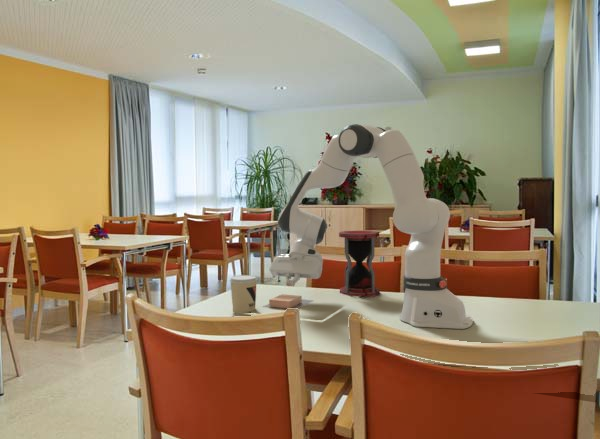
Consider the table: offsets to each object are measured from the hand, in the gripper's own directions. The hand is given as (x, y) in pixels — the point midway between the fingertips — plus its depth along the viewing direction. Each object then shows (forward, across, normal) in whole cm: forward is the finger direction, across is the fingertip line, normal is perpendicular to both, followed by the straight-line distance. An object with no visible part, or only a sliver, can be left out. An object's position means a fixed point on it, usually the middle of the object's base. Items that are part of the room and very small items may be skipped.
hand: (289, 285), depth 187 cm
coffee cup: (+15, -11, -4) cm, 19 cm away
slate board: (+6, 0, +5) cm, 7 cm away
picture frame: (+2, 0, +5) cm, 5 cm away
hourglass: (-15, +17, +26) cm, 34 cm away
